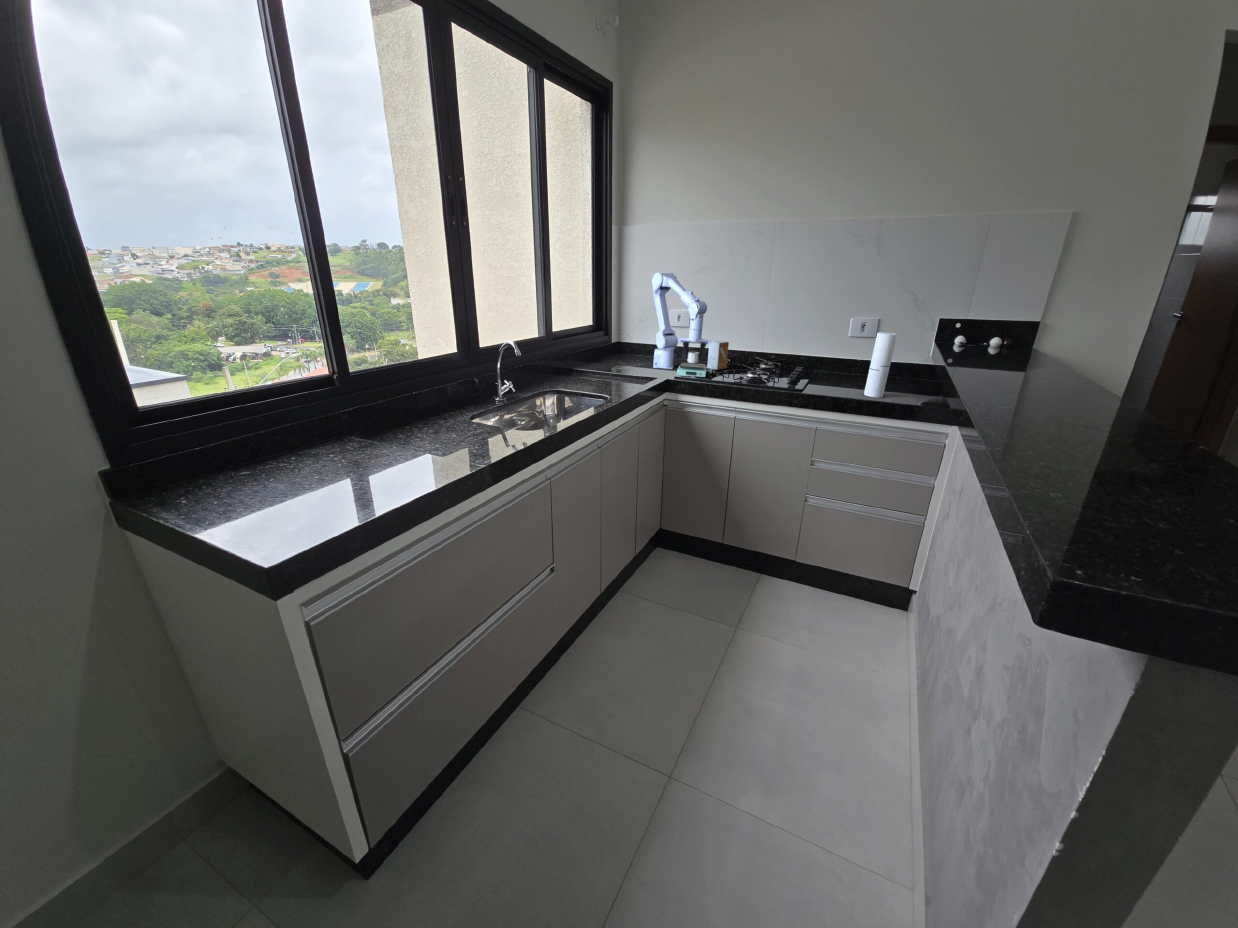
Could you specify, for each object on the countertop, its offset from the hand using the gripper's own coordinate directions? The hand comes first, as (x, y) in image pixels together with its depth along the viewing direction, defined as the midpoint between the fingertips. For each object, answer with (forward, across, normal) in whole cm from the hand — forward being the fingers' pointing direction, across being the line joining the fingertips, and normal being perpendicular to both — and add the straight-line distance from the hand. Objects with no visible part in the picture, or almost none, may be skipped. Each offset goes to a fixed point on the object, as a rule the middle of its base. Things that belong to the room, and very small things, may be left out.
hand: (693, 359), depth 235 cm
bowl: (+1, 0, 0) cm, 1 cm away
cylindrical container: (+7, +76, -16) cm, 78 cm away
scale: (+7, 0, 0) cm, 7 cm away
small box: (+7, +11, +20) cm, 24 cm away
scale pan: (+3, 0, 0) cm, 3 cm away
